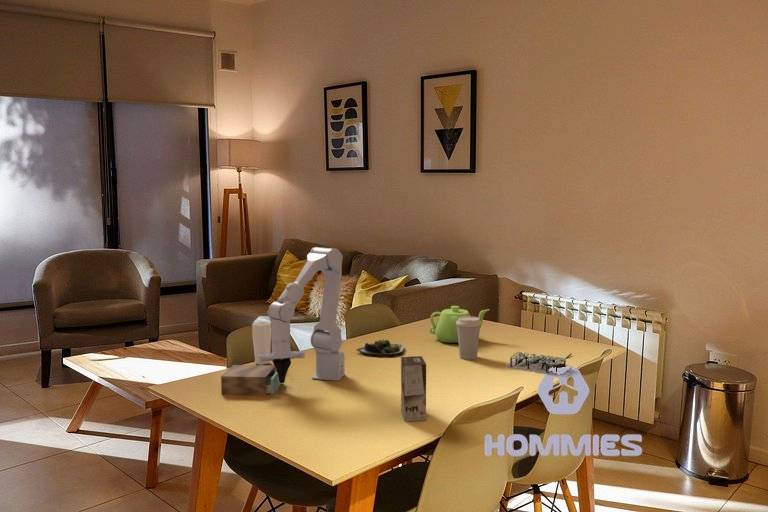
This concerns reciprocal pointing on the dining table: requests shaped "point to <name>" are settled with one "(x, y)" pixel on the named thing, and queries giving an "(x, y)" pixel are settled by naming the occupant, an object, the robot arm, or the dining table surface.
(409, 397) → the coffee box
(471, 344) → the coffee cup
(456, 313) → the teapot
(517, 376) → the dining table surface
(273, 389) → the tray
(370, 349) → the salad plate
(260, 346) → the white tall block
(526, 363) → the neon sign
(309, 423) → the dining table surface
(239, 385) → the cabinet
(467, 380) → the dining table surface
